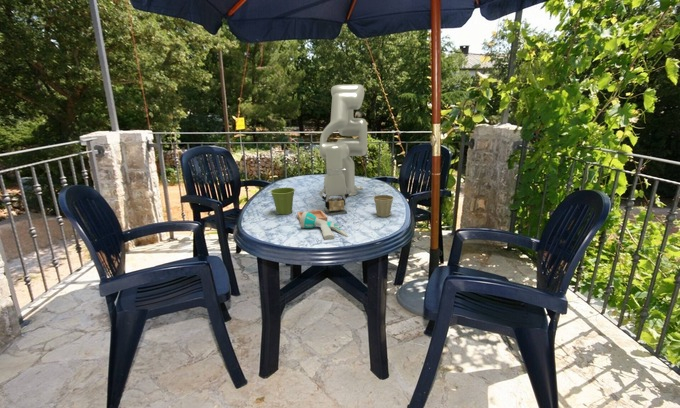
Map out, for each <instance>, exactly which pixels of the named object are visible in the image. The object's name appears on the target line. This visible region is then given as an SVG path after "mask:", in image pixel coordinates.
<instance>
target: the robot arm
mask: <svg viewBox="0 0 680 408" xmlns="http://www.w3.org/2000/svg"><path fill="white" fill-rule="evenodd" d="M330 93H331V95H330V96H331V97H332V99H331V110H330V111H331V112H330V122H329V123H328V124H327V125H326V126H325V127H324V129H323V130H322V133H321V134H320V139H319V147H318V148H319V150H318V151H319V156H320V157H321V158H322V159H325V161H326V174H325V175H324V179H323V188H322V189H321V190H320V191H319V192H318V196H319V197H321V198H322V200H323V201H324V208H327V209H328V210H329V201H328V200H329V199H330V197H337V196H339V197H341V199H342V200H343V201H344V207H345V206H346V200H347V198H348V197H353V196H356V195H357V194H358V191H363V189H364V188H363V186H360V185H357V186H356V185H355V181H356V180H355V179H356V178H355V171H356V170H355V167H356V166H355V161H354V160H353V159H352V157H363V156H366V154H367V152H368V123H367V121H366V119H365V118H360V117H355V116H354V110H359V109H361V108H362V104H363V101H364V98H365V88H364V86H363V85H362V84H358V83H357V84H353V83H350V84H336V85H333V86H332V87H331V89H330ZM335 132H338V134H339V135H340V136H343V137H345V138H339V139H337V141H335V142H328V141H327V140H328V139H329V137H330V136H331V135H332V134H333V133H335ZM346 137H347V138H346ZM349 137H351V138H349ZM352 137H358V138H352ZM324 194H325V196H324Z"/></svg>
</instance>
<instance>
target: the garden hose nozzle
mask: <svg viewBox="0 0 680 408" xmlns="http://www.w3.org/2000/svg"><path fill="white" fill-rule="evenodd" d="M302 212H303V213H302V216H301V221H300V220H299V223H300V225H299V226H300V228H303V229H312V228H314V227H317V226H318V227H320V229H321V231H322V237H323V239H324V240H334V239H335V237H336V236H335V234H334V233H333V231H332V230H334V231H336V232H338V233H339V234H341V235H342V236H343V237H348V233H347V232H346V231H344V230H343V229H341V226H340V225H339V224H337V223H335V222H333V221H328V220H327V221H324V220H321V219H318V218H317V217H316V216H315V215H314V214H312V213H309V212H306V211H302Z"/></svg>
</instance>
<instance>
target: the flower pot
mask: <svg viewBox="0 0 680 408" xmlns="http://www.w3.org/2000/svg"><path fill="white" fill-rule="evenodd" d="M394 199H395V197H394V196H393V195H388V194H377V195H375V196H373V201H374V203H375V211H376V216H377V217H381V218H387V217H390V216H391V212H392V204H393V200H394Z"/></svg>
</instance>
